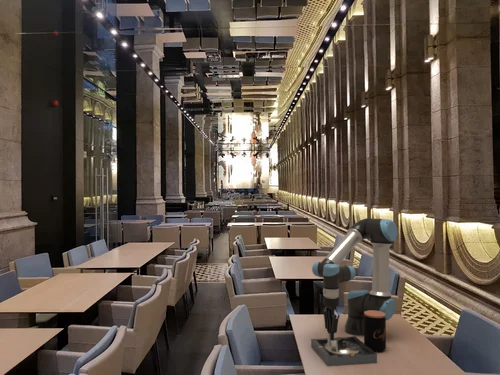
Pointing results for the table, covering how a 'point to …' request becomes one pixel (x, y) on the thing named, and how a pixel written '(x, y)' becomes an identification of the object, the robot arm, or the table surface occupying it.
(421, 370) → the table surface
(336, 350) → the dial
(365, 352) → the grey square tray
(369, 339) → the coffee jar
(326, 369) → the table surface
